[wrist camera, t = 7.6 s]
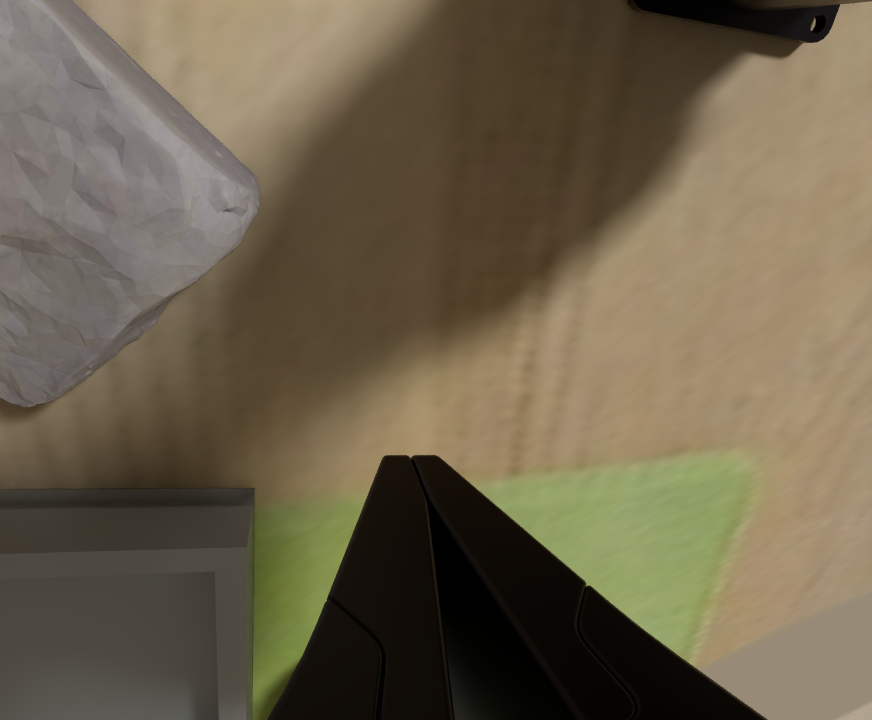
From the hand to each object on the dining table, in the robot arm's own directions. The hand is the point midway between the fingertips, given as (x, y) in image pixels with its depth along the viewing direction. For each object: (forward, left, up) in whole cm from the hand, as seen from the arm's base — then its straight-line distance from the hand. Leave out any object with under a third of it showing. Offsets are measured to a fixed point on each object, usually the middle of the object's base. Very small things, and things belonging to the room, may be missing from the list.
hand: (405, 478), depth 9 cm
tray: (+10, +16, -11) cm, 22 cm away
